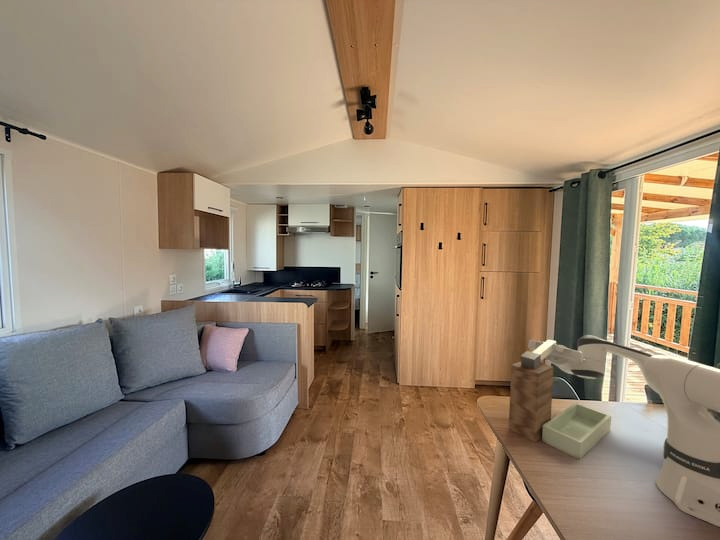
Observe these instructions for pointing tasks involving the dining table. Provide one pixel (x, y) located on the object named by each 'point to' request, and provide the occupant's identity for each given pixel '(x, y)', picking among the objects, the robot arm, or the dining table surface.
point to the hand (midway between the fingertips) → (548, 344)
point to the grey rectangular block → (537, 355)
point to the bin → (576, 430)
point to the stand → (530, 399)
